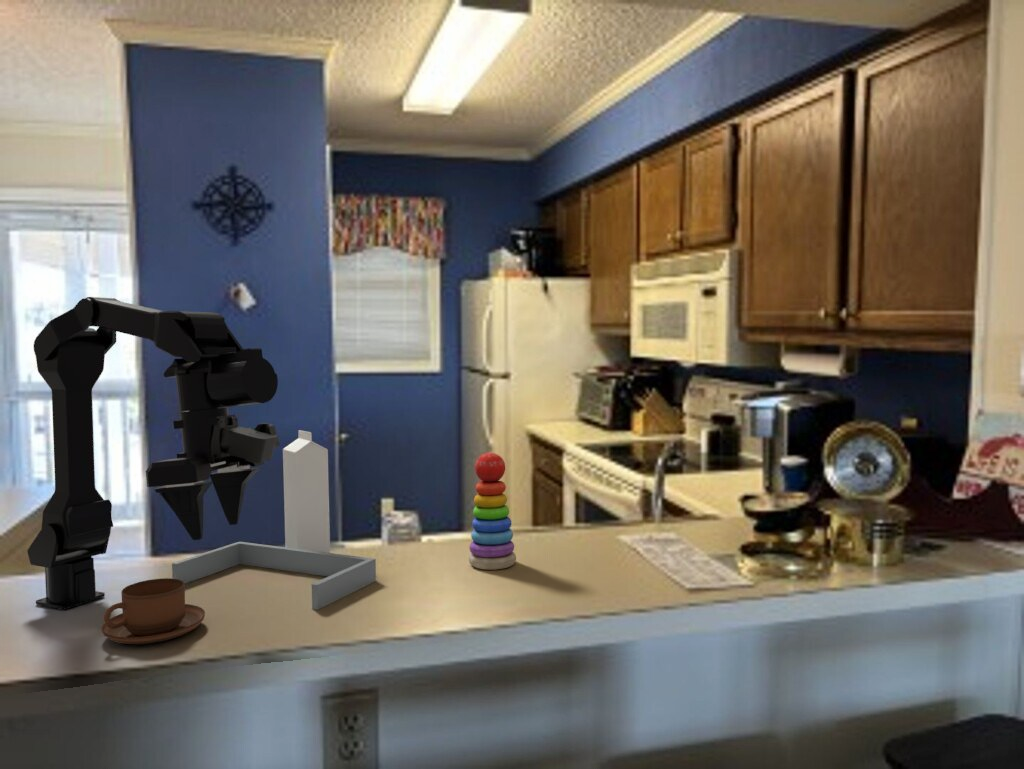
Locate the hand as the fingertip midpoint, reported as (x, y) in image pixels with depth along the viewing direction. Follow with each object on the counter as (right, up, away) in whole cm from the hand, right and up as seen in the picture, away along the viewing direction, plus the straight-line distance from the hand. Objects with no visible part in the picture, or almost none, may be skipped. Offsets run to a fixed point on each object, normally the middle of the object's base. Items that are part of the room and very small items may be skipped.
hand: (216, 531), depth 95 cm
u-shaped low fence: (0, -12, +20) cm, 24 cm away
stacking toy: (+34, -12, +30) cm, 47 cm away
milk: (+1, -12, +37) cm, 39 cm away
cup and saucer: (-8, -14, +1) cm, 16 cm away
